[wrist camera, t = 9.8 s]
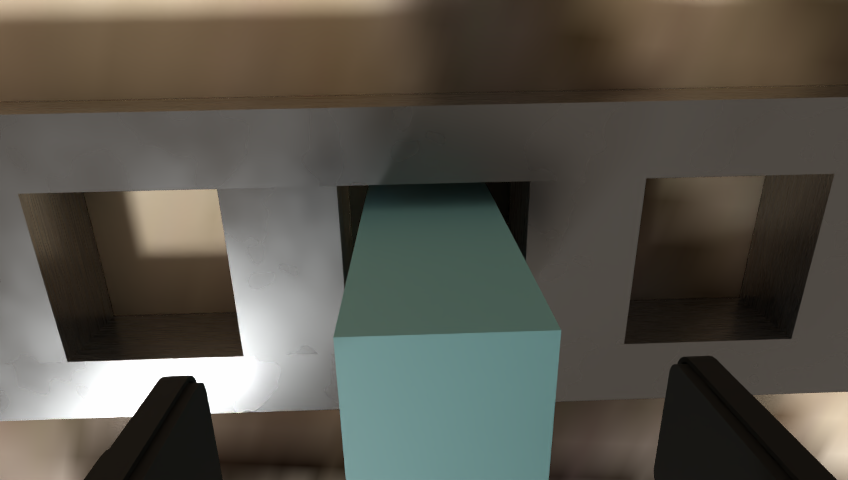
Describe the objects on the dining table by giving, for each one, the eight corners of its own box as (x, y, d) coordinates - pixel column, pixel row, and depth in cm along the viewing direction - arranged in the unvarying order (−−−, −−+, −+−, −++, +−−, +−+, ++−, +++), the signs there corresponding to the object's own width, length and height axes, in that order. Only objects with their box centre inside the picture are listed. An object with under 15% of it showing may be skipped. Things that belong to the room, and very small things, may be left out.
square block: (481, 285, 20) (546, 502, 11) (374, 288, 20) (348, 510, 11) (484, 181, 19) (561, 330, 10) (368, 184, 19) (333, 337, 10)
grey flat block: (808, 344, 22) (867, 390, 19) (42, 369, 21) (-14, 421, 18) (879, 84, 18) (966, 94, 15) (-43, 103, 17) (-128, 117, 15)
